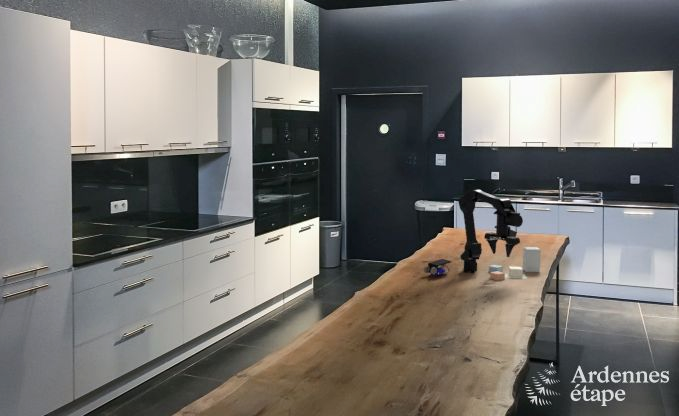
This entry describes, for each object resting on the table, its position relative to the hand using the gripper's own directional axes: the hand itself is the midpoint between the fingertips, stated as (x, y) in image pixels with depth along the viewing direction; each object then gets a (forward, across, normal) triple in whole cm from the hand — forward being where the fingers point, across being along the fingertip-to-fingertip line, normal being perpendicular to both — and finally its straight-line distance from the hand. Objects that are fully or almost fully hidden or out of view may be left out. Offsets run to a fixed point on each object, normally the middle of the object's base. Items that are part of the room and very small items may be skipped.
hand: (501, 255), depth 331 cm
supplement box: (+12, +4, -27) cm, 30 cm away
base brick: (+11, 0, -11) cm, 16 cm away
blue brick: (+12, +11, -8) cm, 18 cm away
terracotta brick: (+12, 0, +2) cm, 13 cm away
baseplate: (+12, 0, -9) cm, 15 cm away
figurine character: (+12, +23, +21) cm, 33 cm away
